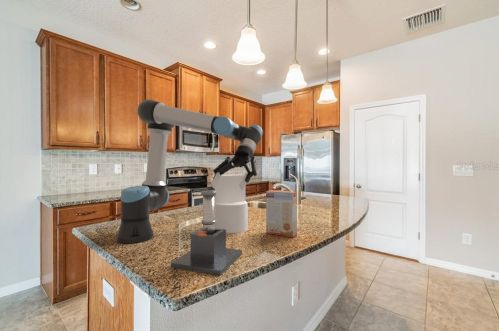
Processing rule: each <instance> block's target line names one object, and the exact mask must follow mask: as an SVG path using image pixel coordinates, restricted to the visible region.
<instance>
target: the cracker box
mask: <svg viewBox="0 0 499 331" xmlns="http://www.w3.org/2000/svg"><path fill="white" fill-rule="evenodd" d="M265 193H266V195H265V200H266V202H265V203H266V204H265V207H266V208H265V210H266V211H265V213H266V214H265V215H266V216H265V217H266V218H265V223H266V224H265V226H266V228H265V230H266V232H265V233H266V234H269V235H276V236H282V237H287V238H294V237H295V236H297V235H298V195H297V194H298V191H294V190H293V191H291V190H278V189H276V190H275V189H274V190H272V189H271V190H266V191H265Z"/></svg>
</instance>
